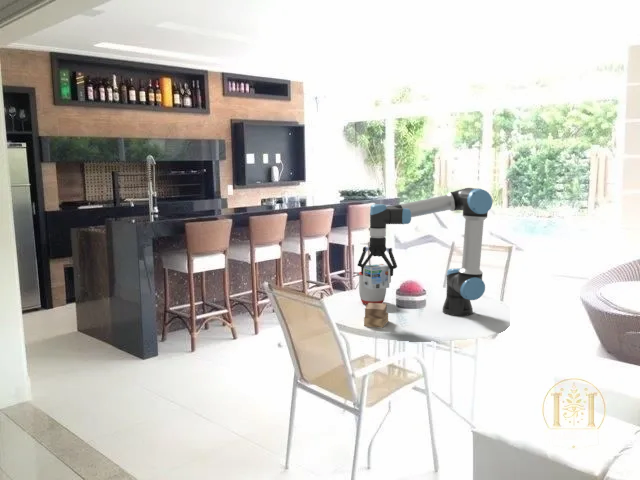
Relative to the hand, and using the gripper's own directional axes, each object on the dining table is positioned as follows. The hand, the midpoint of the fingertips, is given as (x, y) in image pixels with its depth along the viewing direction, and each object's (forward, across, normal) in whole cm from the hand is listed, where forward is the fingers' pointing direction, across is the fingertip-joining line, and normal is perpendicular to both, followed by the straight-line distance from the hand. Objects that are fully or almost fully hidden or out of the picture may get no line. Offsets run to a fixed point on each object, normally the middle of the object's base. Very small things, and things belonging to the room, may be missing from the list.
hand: (376, 281), depth 281 cm
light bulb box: (+3, 0, 0) cm, 3 cm away
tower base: (+21, 0, 0) cm, 21 cm away
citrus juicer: (+21, +11, -40) cm, 46 cm away
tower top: (+16, 0, 0) cm, 16 cm away
